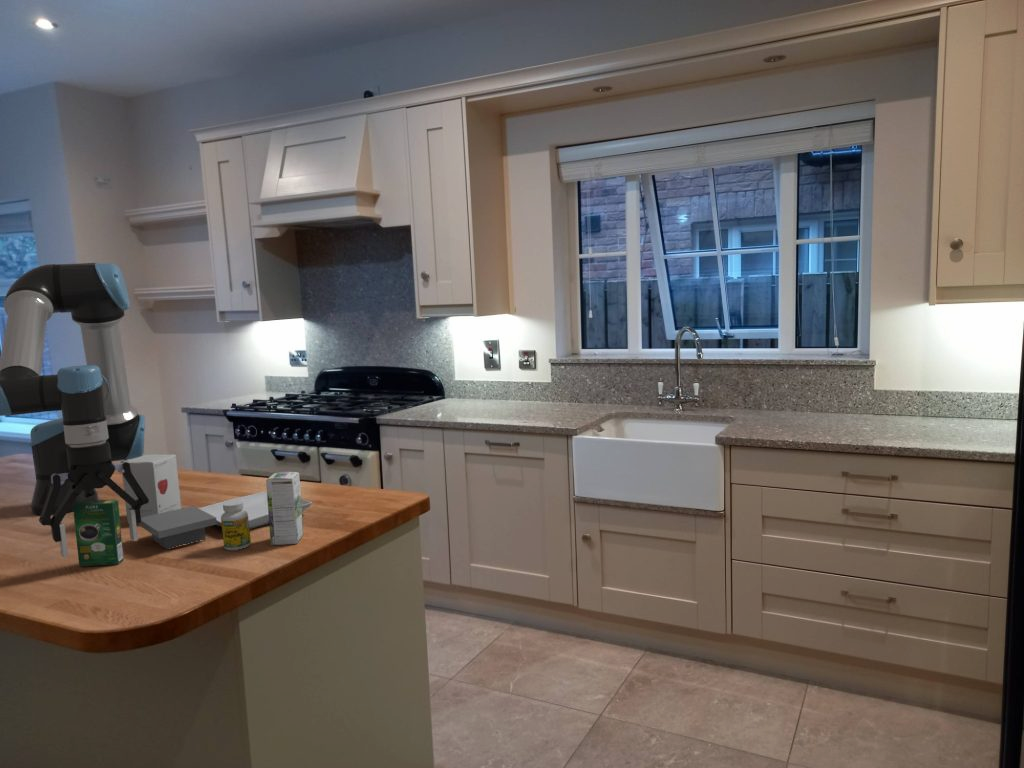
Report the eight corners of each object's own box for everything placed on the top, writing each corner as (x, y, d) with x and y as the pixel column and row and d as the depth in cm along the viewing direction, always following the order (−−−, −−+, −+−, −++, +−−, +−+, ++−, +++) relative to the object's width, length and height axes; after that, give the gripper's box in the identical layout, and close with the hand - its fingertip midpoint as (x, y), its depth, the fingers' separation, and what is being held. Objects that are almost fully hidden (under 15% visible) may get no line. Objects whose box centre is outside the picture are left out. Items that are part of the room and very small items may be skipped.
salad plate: (189, 522, 176) (188, 508, 176) (270, 501, 191) (269, 488, 191) (231, 539, 162) (229, 524, 161) (315, 515, 177) (314, 501, 177)
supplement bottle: (252, 541, 159) (248, 498, 158) (249, 549, 154) (245, 504, 153) (226, 544, 158) (221, 500, 157) (222, 552, 153) (217, 507, 151)
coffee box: (126, 559, 151) (119, 497, 149) (119, 564, 148) (112, 501, 146) (85, 562, 151) (78, 500, 149) (78, 567, 148) (70, 504, 146)
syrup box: (277, 537, 161) (271, 472, 159) (304, 535, 161) (299, 470, 159) (270, 546, 155) (264, 479, 153) (298, 544, 156) (292, 477, 154)
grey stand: (140, 540, 163) (137, 518, 163) (195, 526, 171) (193, 505, 171) (160, 554, 153) (158, 531, 152) (218, 539, 161) (216, 517, 160)
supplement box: (159, 523, 175) (152, 462, 173) (126, 523, 177) (119, 462, 175) (183, 512, 184) (177, 453, 182) (151, 511, 186) (145, 453, 184)
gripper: (19, 457, 135) (34, 569, 138) (158, 435, 151) (169, 536, 154) (12, 451, 141) (26, 559, 144) (146, 431, 157) (157, 528, 160)
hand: (100, 547), depth 149 cm, fingers open, 12 cm apart
